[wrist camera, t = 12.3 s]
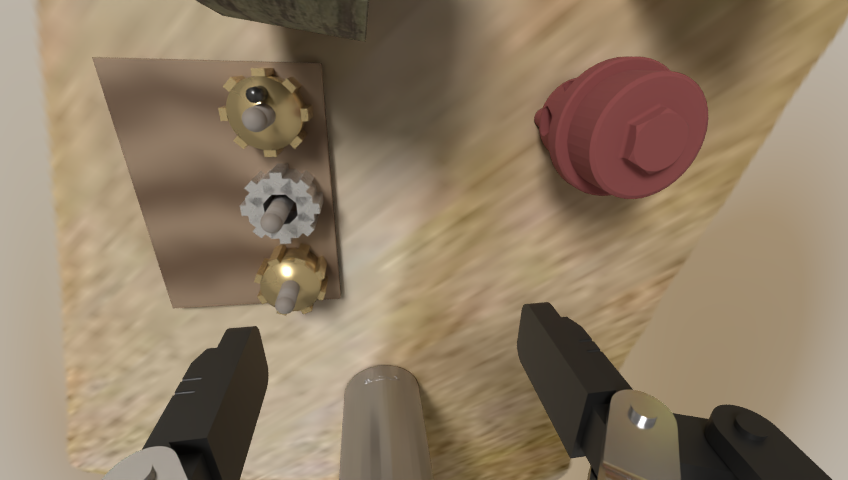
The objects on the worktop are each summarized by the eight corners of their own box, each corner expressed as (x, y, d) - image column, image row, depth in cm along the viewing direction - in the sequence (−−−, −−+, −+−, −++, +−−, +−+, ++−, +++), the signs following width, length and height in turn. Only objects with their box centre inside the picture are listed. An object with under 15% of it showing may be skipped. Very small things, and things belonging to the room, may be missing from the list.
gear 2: (339, 283, 38) (337, 300, 35) (283, 306, 38) (277, 324, 35) (309, 232, 35) (304, 247, 32) (249, 257, 35) (239, 274, 33)
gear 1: (316, 148, 32) (308, 162, 27) (239, 148, 31) (218, 163, 27) (308, 68, 29) (298, 70, 25) (224, 66, 28) (198, 67, 24)
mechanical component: (605, 168, 38) (510, 171, 36) (629, 57, 33) (522, 56, 32) (705, 212, 27) (573, 219, 25) (760, 56, 22) (605, 55, 21)
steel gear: (319, 163, 32) (315, 172, 30) (326, 228, 35) (322, 242, 32) (244, 163, 32) (233, 173, 29) (256, 230, 34) (247, 245, 32)
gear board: (340, 293, 39) (335, 339, 33) (177, 302, 37) (137, 354, 31) (321, 63, 30) (309, 64, 23) (100, 57, 28) (18, 56, 21)
